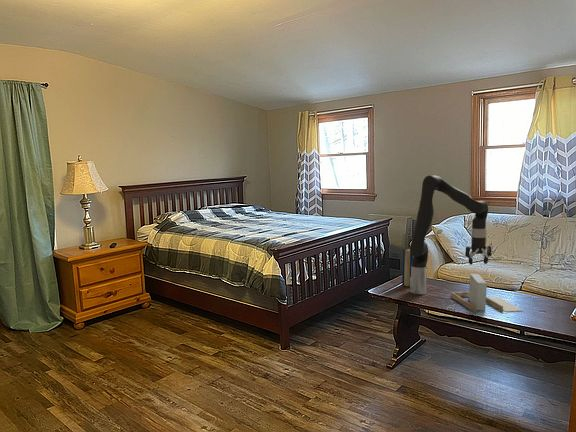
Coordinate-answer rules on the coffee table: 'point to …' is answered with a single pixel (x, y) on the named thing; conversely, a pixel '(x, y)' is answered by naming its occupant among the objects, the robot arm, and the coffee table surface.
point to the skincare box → (477, 291)
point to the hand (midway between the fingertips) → (478, 264)
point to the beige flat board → (506, 305)
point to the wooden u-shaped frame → (458, 298)
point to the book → (406, 267)
